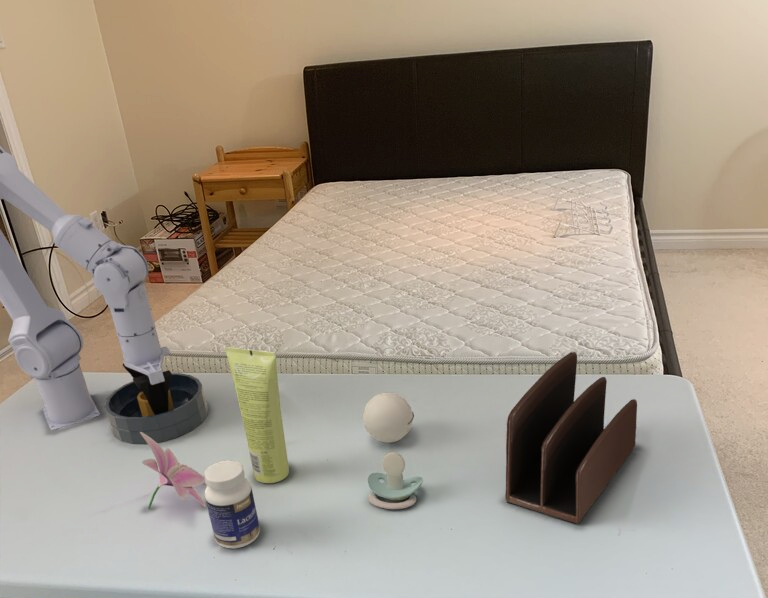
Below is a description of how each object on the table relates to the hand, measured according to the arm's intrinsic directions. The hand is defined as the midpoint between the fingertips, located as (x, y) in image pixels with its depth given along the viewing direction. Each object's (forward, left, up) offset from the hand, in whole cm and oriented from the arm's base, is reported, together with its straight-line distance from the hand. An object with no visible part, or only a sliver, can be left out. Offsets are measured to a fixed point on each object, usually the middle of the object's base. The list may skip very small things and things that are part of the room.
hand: (156, 406), depth 122 cm
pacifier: (+41, +20, -3) cm, 46 cm away
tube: (+26, +9, -3) cm, 28 cm away
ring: (0, 0, -1) cm, 1 cm away
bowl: (0, 0, -3) cm, 3 cm away
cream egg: (+27, +28, -3) cm, 39 cm away
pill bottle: (+36, 0, -3) cm, 36 cm away
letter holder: (+51, +42, -3) cm, 66 cm away
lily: (+24, -4, -3) cm, 25 cm away
